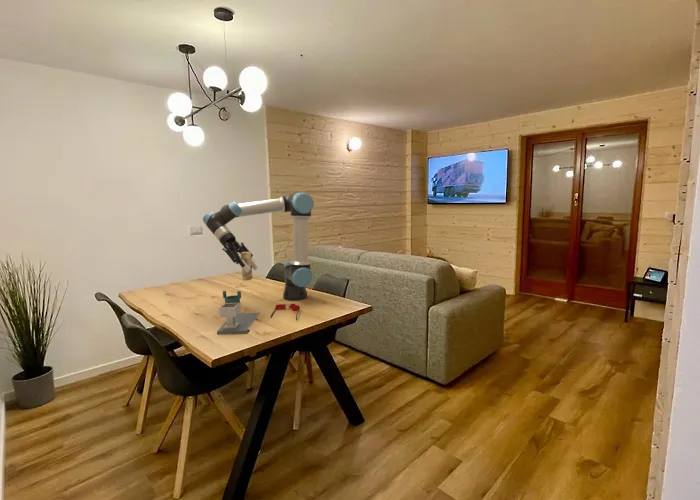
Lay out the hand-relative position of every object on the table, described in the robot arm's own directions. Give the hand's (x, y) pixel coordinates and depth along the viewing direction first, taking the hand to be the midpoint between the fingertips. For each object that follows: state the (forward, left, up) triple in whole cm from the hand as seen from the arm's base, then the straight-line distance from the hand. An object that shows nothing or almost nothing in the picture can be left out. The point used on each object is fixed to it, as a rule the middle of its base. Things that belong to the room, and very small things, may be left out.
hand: (252, 269), depth 181 cm
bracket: (+20, -27, -27) cm, 43 cm away
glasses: (-15, -4, -27) cm, 31 cm away
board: (+6, +6, -26) cm, 28 cm away
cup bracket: (+8, +14, -25) cm, 30 cm away
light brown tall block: (+3, -2, -5) cm, 7 cm away
